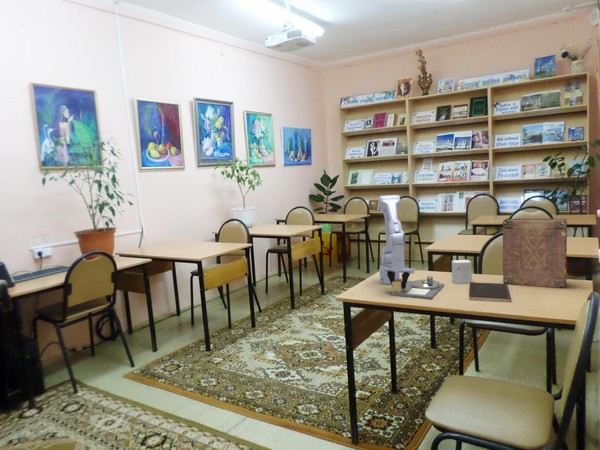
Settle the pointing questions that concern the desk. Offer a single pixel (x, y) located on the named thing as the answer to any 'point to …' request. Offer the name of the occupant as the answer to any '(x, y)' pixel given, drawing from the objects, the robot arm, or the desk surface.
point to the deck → (428, 296)
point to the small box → (461, 271)
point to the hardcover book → (489, 292)
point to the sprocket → (426, 283)
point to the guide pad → (419, 291)
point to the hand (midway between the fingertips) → (398, 287)
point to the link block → (397, 285)
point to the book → (535, 252)
